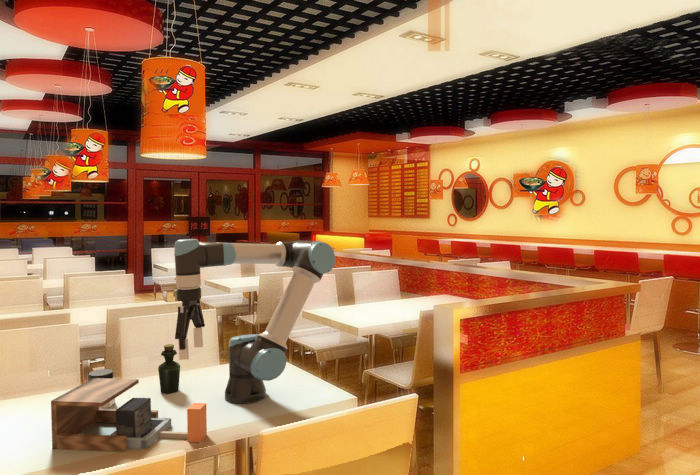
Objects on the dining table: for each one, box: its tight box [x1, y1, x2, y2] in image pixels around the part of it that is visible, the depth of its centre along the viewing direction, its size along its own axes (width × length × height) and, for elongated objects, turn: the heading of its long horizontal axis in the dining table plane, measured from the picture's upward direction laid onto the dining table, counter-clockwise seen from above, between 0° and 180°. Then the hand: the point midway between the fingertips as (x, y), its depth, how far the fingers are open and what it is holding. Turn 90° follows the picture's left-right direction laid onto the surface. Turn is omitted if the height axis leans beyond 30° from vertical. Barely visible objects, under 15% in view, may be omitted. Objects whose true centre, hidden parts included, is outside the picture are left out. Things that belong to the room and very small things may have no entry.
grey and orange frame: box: [110, 402, 208, 450], centre depth 156 cm, size 27×16×10 cm, turn 85°
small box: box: [115, 397, 153, 438], centre depth 156 cm, size 11×6×10 cm, turn 176°
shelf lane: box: [50, 378, 159, 453], centre depth 157 cm, size 22×21×14 cm
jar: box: [87, 368, 116, 409], centre depth 182 cm, size 9×8×12 cm
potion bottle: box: [157, 343, 181, 395], centre depth 196 cm, size 8×8×18 cm
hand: (191, 353), depth 164 cm, fingers open, 13 cm apart
